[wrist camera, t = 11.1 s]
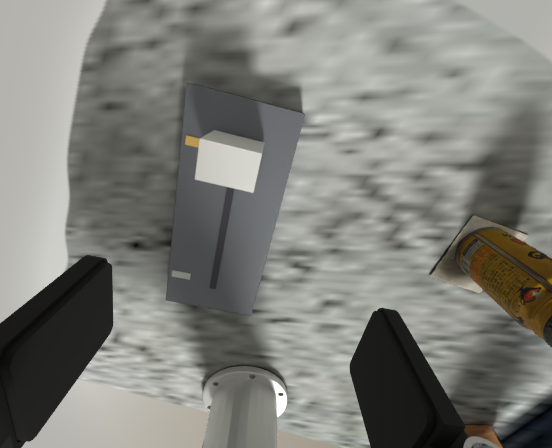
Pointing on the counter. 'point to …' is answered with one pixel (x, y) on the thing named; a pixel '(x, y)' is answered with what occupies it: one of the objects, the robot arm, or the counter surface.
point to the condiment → (502, 272)
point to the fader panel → (227, 202)
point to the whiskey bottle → (483, 433)
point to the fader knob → (229, 160)
